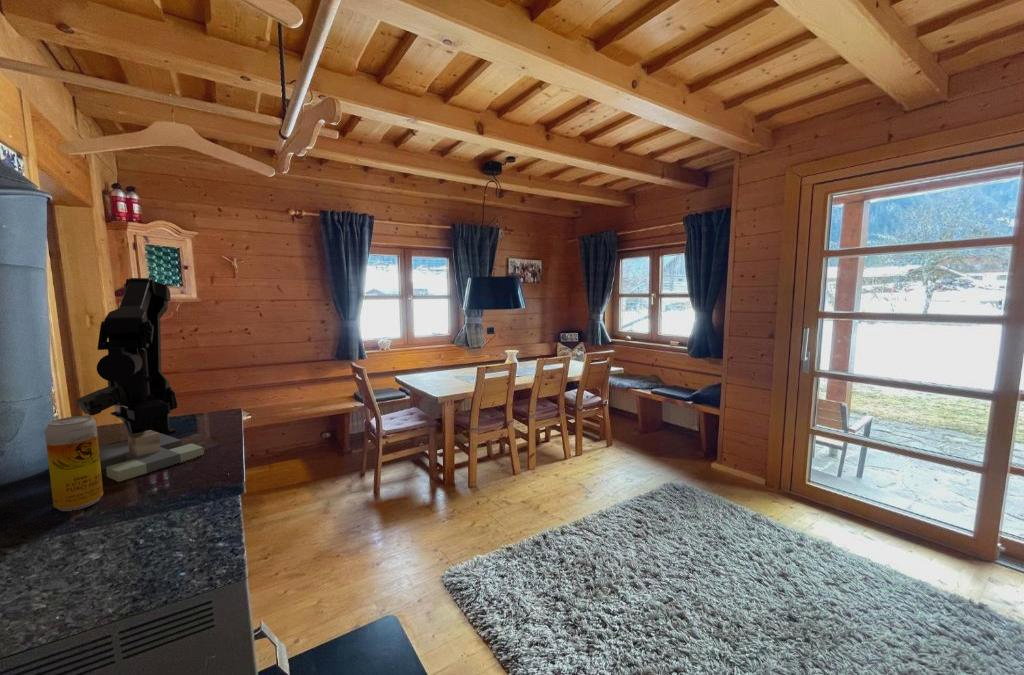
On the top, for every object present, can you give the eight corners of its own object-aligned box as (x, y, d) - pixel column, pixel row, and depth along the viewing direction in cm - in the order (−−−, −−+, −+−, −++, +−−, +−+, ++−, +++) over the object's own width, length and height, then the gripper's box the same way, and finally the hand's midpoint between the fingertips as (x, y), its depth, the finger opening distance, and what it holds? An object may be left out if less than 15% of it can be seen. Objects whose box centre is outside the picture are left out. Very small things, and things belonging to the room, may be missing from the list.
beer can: (71, 514, 70) (62, 426, 68) (44, 510, 71) (33, 424, 70) (112, 497, 76) (105, 416, 74) (86, 494, 77) (78, 413, 76)
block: (129, 453, 91) (127, 435, 91) (152, 447, 95) (150, 429, 94) (137, 456, 89) (136, 438, 89) (160, 450, 93) (159, 432, 92)
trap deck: (76, 461, 91) (75, 453, 91) (159, 440, 105) (159, 432, 104) (118, 481, 82) (117, 472, 82) (203, 455, 95) (203, 447, 95)
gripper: (62, 374, 89) (69, 446, 91) (99, 385, 80) (107, 464, 82) (129, 366, 99) (134, 431, 101) (169, 375, 90) (174, 446, 92)
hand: (136, 442), depth 94 cm, fingers closed
